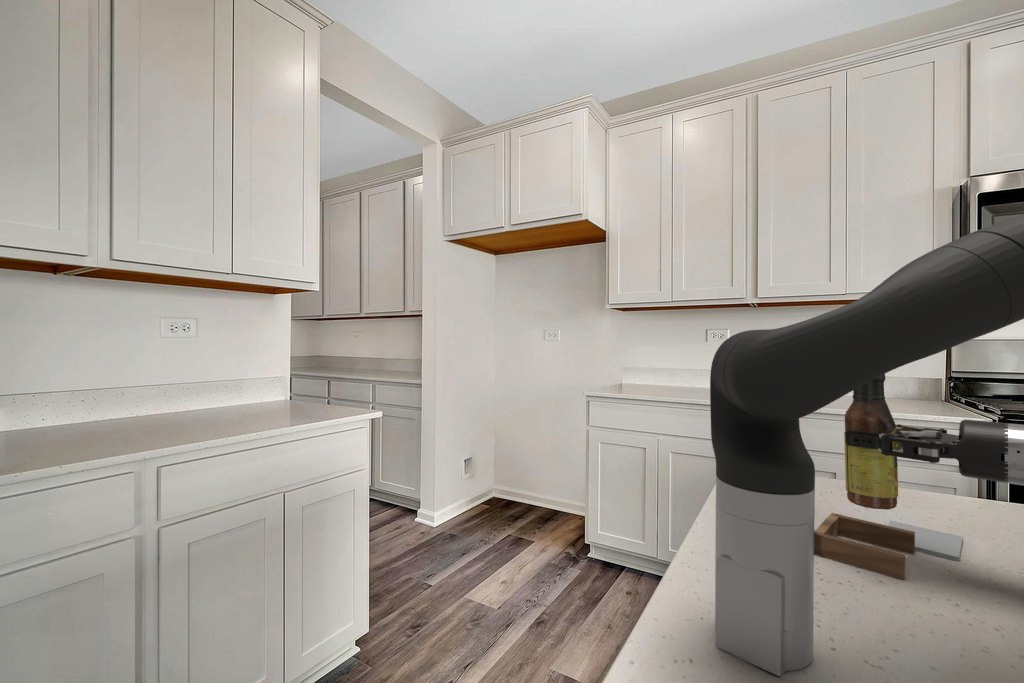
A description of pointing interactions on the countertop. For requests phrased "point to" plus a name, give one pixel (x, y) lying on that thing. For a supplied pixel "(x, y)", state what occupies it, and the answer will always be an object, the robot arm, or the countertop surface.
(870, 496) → the sauce bottle
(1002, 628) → the countertop surface
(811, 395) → the robot arm
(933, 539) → the felt mat
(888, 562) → the walnut cradle
